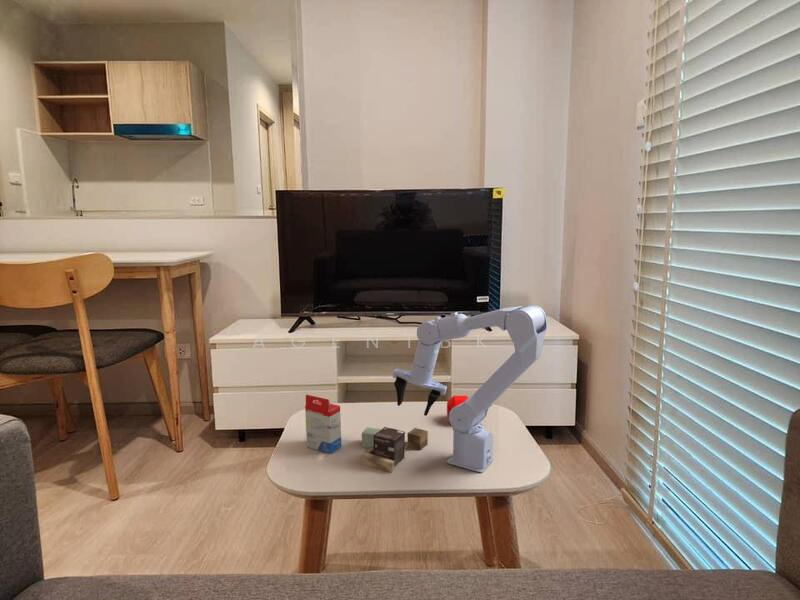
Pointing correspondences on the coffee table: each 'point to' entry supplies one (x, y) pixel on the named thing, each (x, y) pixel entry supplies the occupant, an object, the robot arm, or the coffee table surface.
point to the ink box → (322, 424)
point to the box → (390, 444)
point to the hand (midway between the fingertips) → (412, 409)
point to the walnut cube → (417, 439)
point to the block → (369, 436)
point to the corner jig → (376, 461)
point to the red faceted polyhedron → (455, 402)
